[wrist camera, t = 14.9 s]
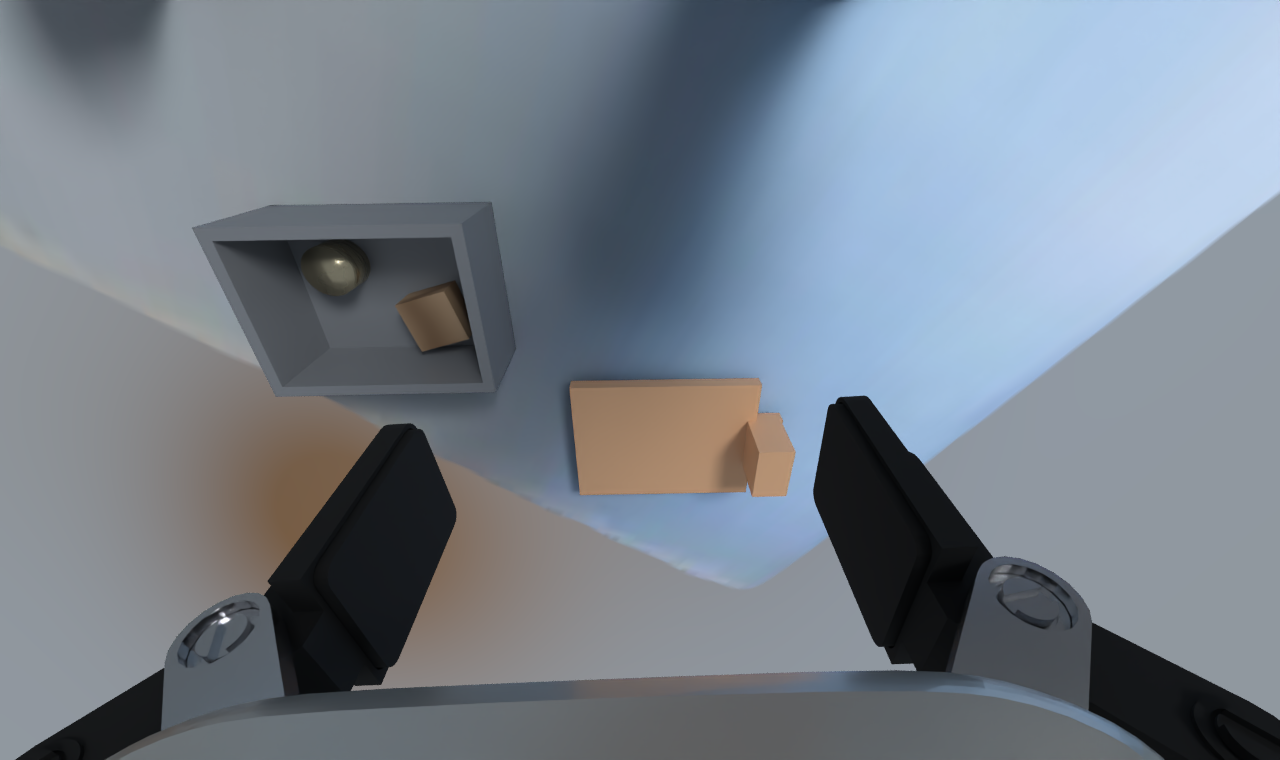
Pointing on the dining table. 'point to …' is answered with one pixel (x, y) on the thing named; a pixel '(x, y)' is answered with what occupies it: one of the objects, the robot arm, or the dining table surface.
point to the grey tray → (364, 296)
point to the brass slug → (335, 266)
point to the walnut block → (436, 316)
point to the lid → (678, 438)
